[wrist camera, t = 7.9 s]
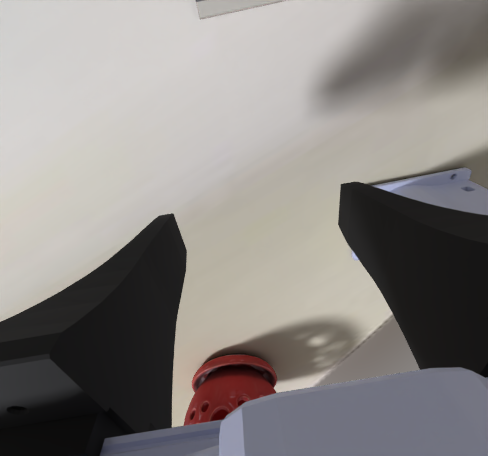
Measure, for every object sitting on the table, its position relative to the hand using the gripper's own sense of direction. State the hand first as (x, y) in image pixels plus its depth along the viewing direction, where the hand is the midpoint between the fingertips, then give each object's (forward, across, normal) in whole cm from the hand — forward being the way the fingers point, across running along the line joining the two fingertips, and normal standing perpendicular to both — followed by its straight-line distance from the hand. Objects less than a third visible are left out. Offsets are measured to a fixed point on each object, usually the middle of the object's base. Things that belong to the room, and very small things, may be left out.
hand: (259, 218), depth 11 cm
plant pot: (+10, +6, +31) cm, 33 cm away
